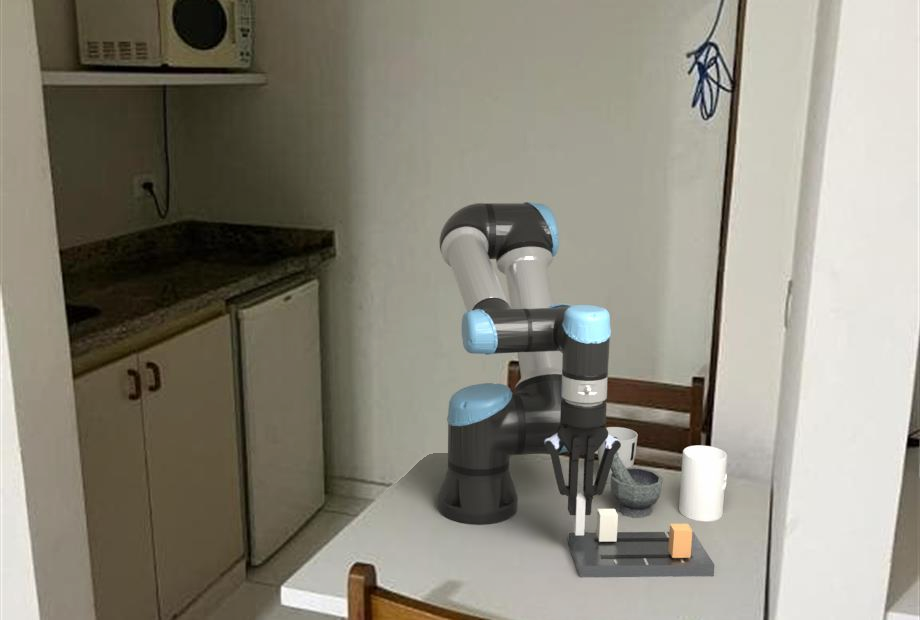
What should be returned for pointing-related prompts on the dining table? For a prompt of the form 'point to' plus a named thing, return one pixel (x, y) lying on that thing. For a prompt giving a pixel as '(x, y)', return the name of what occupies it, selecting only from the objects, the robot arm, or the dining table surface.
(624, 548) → the console
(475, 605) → the dining table surface
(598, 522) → the fader
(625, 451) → the cup
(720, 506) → the mug
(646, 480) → the mortar and pestle
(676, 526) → the fader
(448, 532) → the dining table surface
